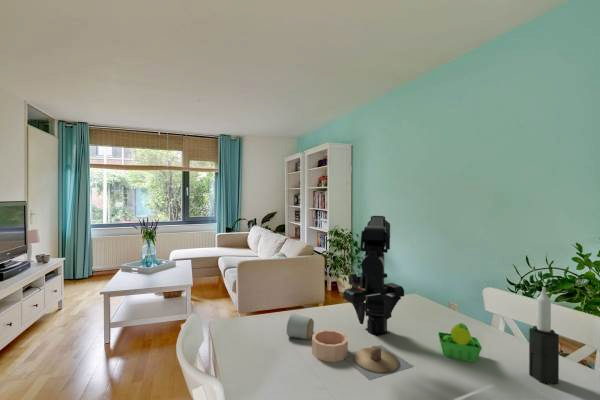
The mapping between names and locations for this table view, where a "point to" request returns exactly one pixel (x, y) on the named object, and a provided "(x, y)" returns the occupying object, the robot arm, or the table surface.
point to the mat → (373, 375)
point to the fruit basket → (460, 344)
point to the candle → (544, 344)
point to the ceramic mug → (300, 326)
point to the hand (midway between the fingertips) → (373, 321)
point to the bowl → (329, 345)
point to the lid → (376, 360)
